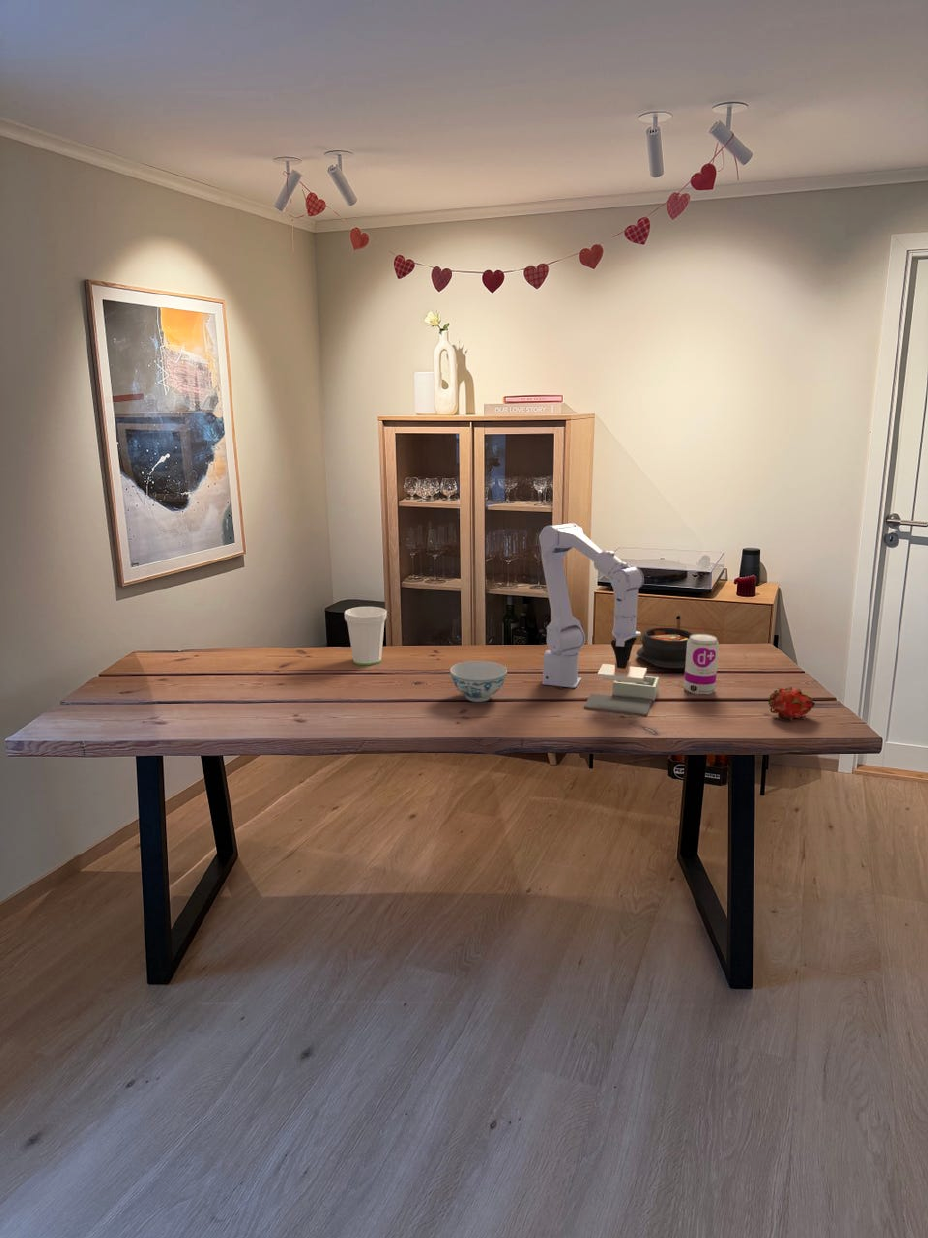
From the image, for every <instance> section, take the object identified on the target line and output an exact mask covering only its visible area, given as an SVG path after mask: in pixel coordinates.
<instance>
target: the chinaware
mask: <svg viewBox="0 0 928 1238" xmlns="http://www.w3.org/2000/svg"><path fill="white" fill-rule="evenodd" d="M449 673H450V677H451V680H452V683H453V684H454V687H455V688H456V689H457V690H458V691H459V692H460V693H462V695H464V696H465V699H467V700H468V701H470V702H474V703H475V702H476V703H483V702H487V701H489V700H490V699H491V698H492V696H493V695H494V694H496V693H497V692H498V691H500V689H501V688H502V686H503V685H504V682H505V681H506V677H507V675H508V670H507V667H506V666H505V665H502V664H500V663H497V662H495V661H494V662H492V661H485V660H471V661H464V662H462V661H461V662H459V663H455V664H454V665H452V666H451V667H450V669H449Z"/></svg>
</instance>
